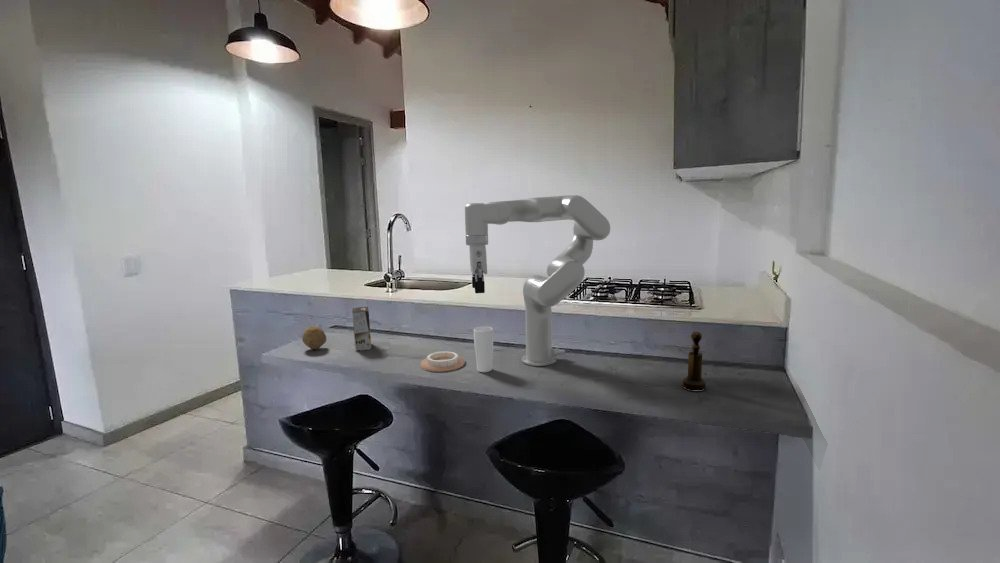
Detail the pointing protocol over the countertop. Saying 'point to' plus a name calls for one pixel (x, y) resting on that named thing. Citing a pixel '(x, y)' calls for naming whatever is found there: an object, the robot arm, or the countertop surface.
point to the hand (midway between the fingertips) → (478, 290)
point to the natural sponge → (314, 337)
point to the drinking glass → (483, 348)
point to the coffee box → (361, 328)
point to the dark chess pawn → (695, 366)
